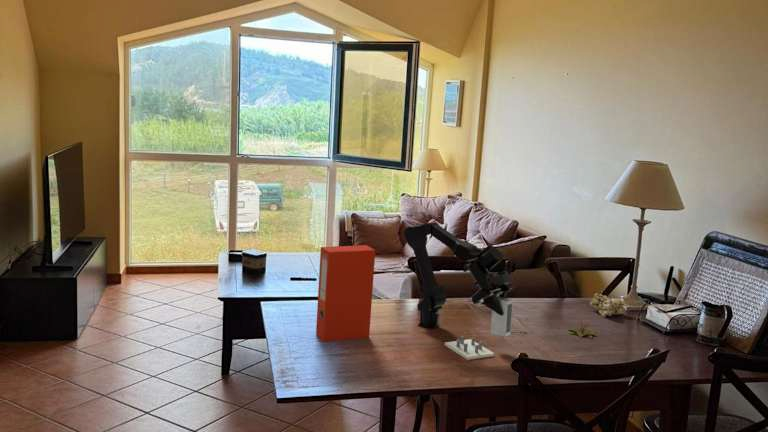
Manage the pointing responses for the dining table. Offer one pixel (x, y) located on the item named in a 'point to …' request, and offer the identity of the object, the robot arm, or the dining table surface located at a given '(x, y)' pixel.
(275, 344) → the dining table surface
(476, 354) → the white pegged base
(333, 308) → the file binder
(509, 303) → the block
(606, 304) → the mineral formation
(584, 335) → the olive green spiky piece
